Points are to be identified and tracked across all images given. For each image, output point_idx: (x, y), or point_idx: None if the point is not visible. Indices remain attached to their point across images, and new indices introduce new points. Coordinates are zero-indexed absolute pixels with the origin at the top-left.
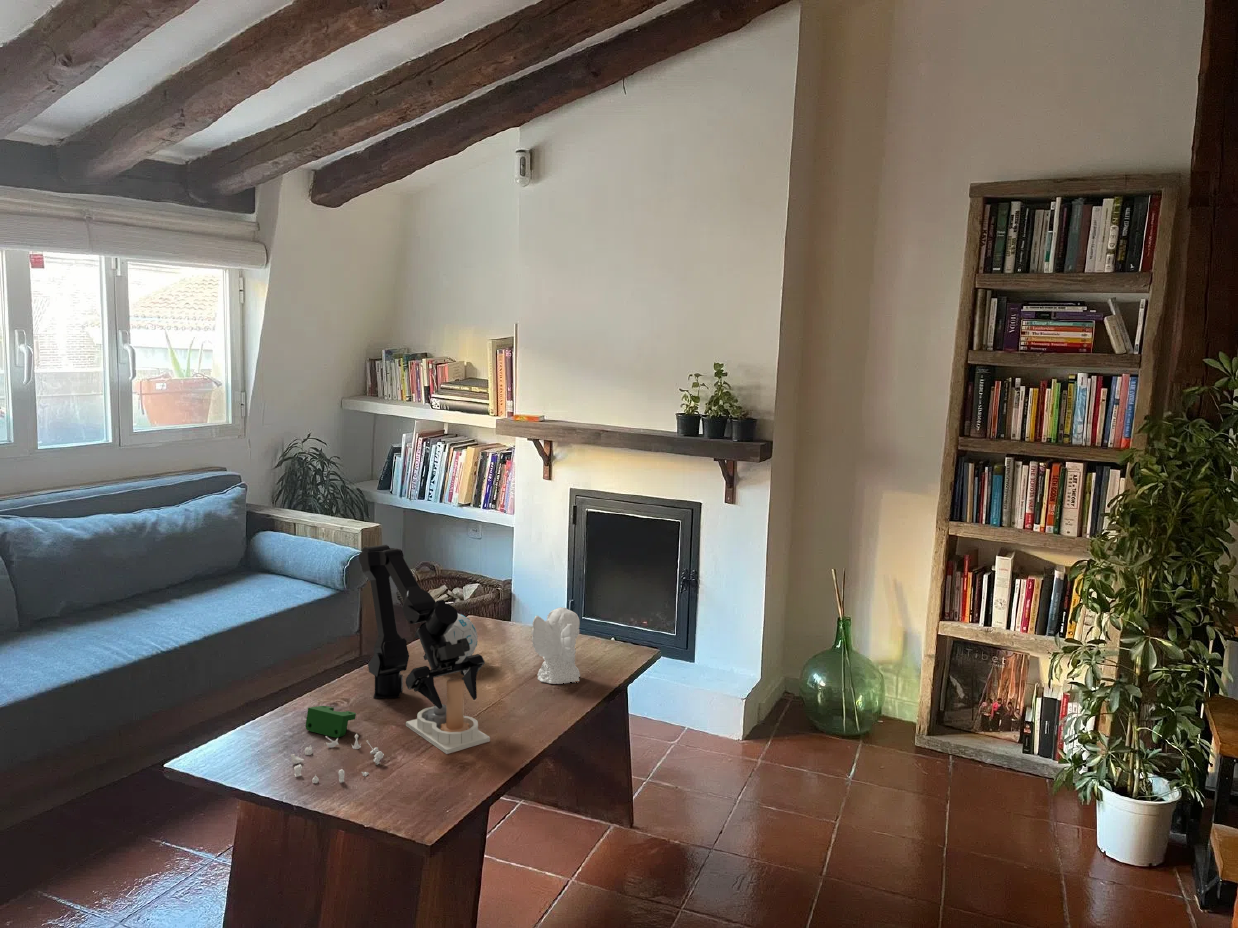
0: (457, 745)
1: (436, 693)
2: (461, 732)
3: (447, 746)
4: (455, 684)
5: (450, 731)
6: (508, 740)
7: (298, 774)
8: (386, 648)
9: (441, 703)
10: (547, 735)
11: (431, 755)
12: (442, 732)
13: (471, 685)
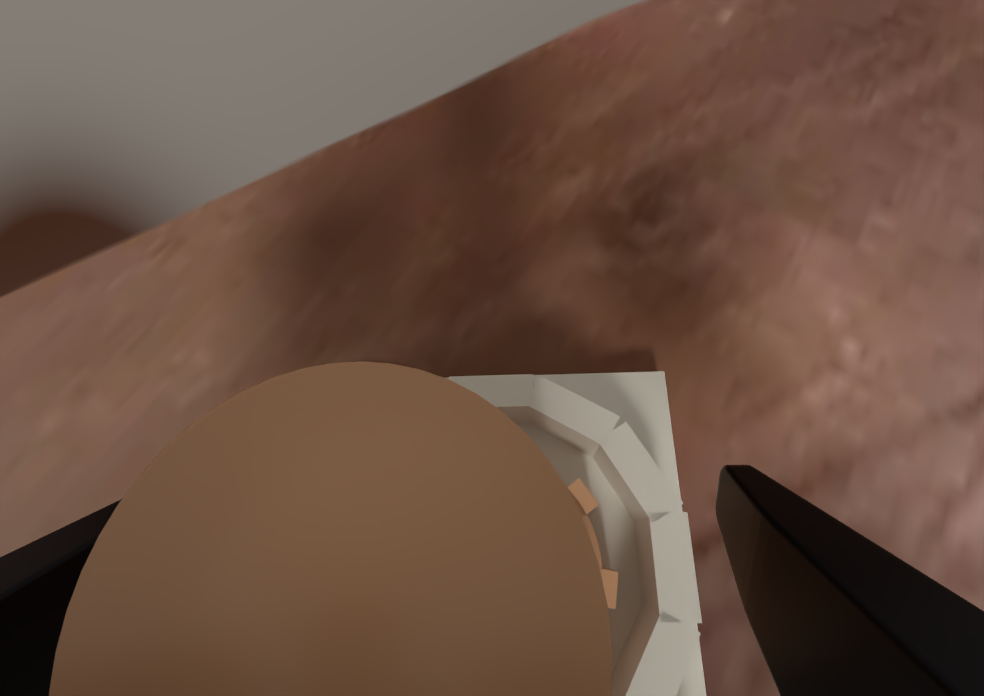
0: (572, 390)
1: (910, 614)
2: (528, 390)
3: (636, 414)
4: (462, 401)
5: (572, 492)
6: (273, 339)
7: None
8: None
9: (743, 486)
10: (98, 283)
11: (752, 417)
12: (658, 474)
13: (16, 631)
